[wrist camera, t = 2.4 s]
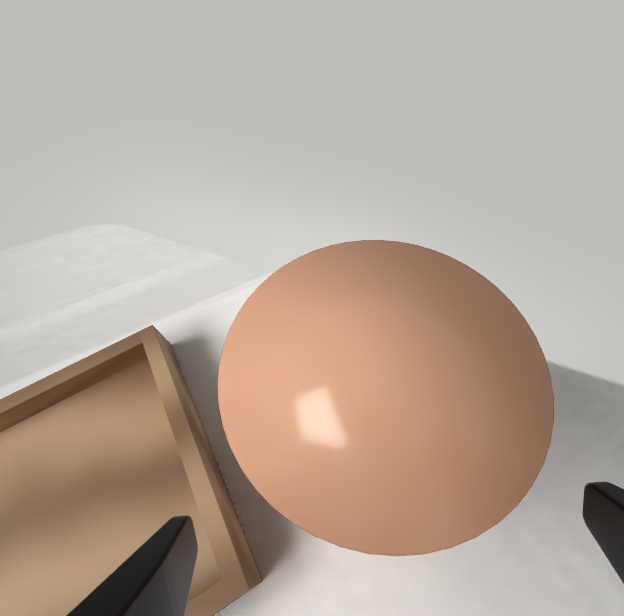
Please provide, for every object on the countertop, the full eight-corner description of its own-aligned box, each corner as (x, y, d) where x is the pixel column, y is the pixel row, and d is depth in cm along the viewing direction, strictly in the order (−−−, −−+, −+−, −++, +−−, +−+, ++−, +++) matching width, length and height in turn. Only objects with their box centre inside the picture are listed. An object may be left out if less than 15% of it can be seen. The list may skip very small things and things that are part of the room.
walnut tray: (262, 581, 15) (249, 589, 13) (-76, 815, 13) (-160, 872, 10) (170, 344, 22) (152, 324, 20) (-63, 462, 19) (-112, 454, 17)
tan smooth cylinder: (446, 489, 17) (638, 414, 6) (339, 566, 15) (319, 661, 4) (372, 385, 20) (405, 204, 9) (278, 442, 18) (176, 317, 7)
